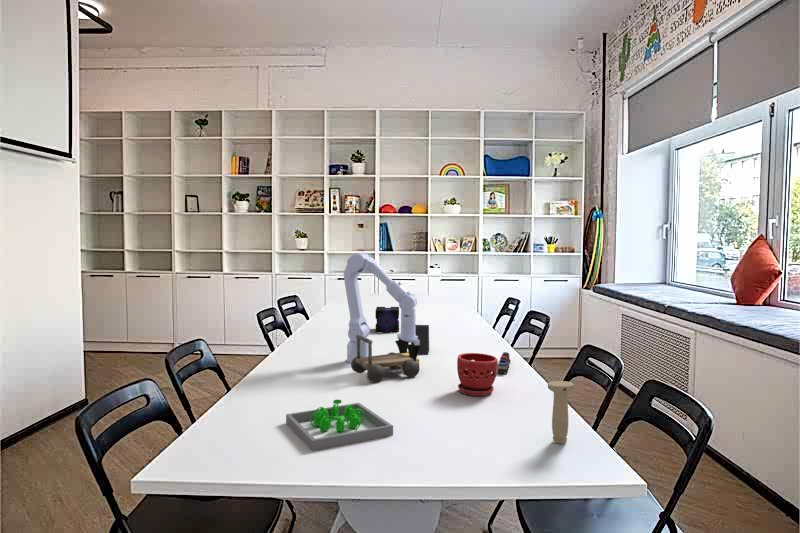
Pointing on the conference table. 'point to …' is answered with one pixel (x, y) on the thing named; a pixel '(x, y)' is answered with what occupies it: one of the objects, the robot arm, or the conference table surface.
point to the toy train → (504, 363)
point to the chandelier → (337, 417)
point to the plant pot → (476, 373)
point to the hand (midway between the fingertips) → (408, 360)
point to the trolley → (382, 363)
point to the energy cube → (387, 319)
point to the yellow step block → (408, 356)
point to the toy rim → (340, 439)
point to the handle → (560, 409)
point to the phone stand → (423, 338)
